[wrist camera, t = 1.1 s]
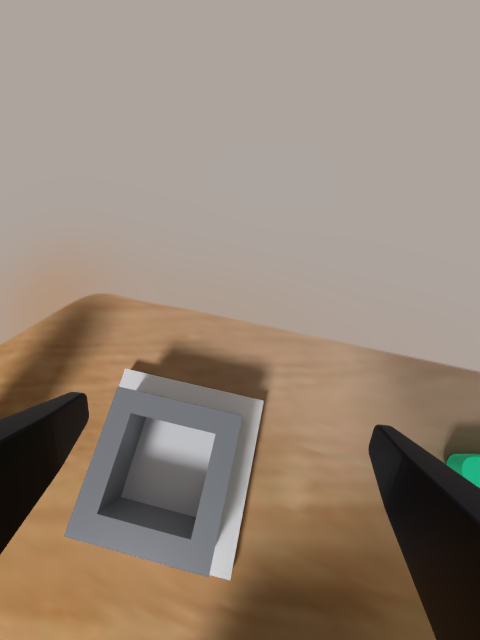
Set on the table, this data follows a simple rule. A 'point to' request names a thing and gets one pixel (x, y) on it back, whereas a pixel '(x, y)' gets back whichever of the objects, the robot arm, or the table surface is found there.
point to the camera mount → (466, 466)
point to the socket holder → (170, 474)
